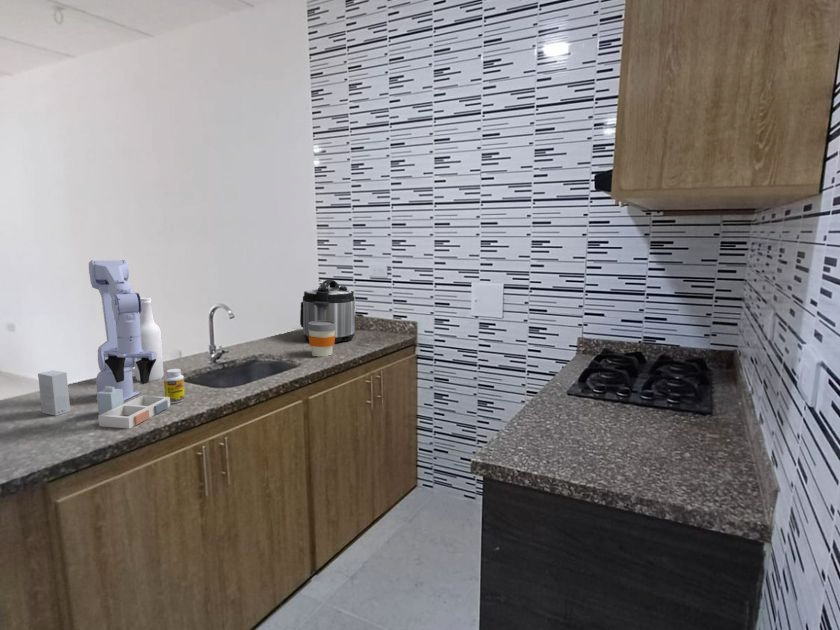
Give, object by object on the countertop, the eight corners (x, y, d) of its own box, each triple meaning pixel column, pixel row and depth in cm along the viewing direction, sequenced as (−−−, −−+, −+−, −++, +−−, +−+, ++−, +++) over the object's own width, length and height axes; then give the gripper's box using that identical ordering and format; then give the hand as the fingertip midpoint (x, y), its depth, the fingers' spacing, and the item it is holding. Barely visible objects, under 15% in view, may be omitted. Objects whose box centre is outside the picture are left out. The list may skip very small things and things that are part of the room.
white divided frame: (99, 426, 123) (98, 415, 123) (143, 404, 140) (142, 395, 140) (131, 428, 122) (130, 418, 122) (172, 406, 139) (171, 397, 139)
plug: (98, 416, 130) (96, 389, 129) (110, 410, 135) (108, 384, 133) (112, 417, 130) (110, 390, 128) (124, 411, 134) (122, 385, 133)
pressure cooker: (332, 331, 261) (332, 276, 256) (367, 338, 243) (368, 280, 238) (288, 338, 237) (287, 278, 232) (323, 347, 220) (323, 283, 215)
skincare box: (71, 411, 133) (67, 372, 131) (55, 416, 129) (51, 376, 127) (57, 408, 135) (53, 369, 133) (41, 413, 131) (36, 373, 129)
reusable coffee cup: (327, 359, 199) (327, 326, 197) (302, 356, 203) (302, 323, 200) (340, 353, 211) (340, 321, 208) (317, 350, 215) (317, 319, 212)
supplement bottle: (166, 405, 140) (164, 373, 138) (164, 399, 145) (162, 369, 143) (186, 402, 143) (184, 371, 141) (183, 397, 148) (182, 367, 146)
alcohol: (133, 383, 159) (126, 299, 154) (139, 376, 168) (133, 296, 163) (161, 381, 162) (155, 299, 157) (166, 374, 170) (161, 296, 166)
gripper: (93, 337, 123) (97, 385, 126) (142, 340, 122) (146, 388, 124) (113, 332, 130) (117, 377, 132) (160, 335, 129) (163, 380, 131)
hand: (132, 382), depth 129 cm, fingers open, 7 cm apart
